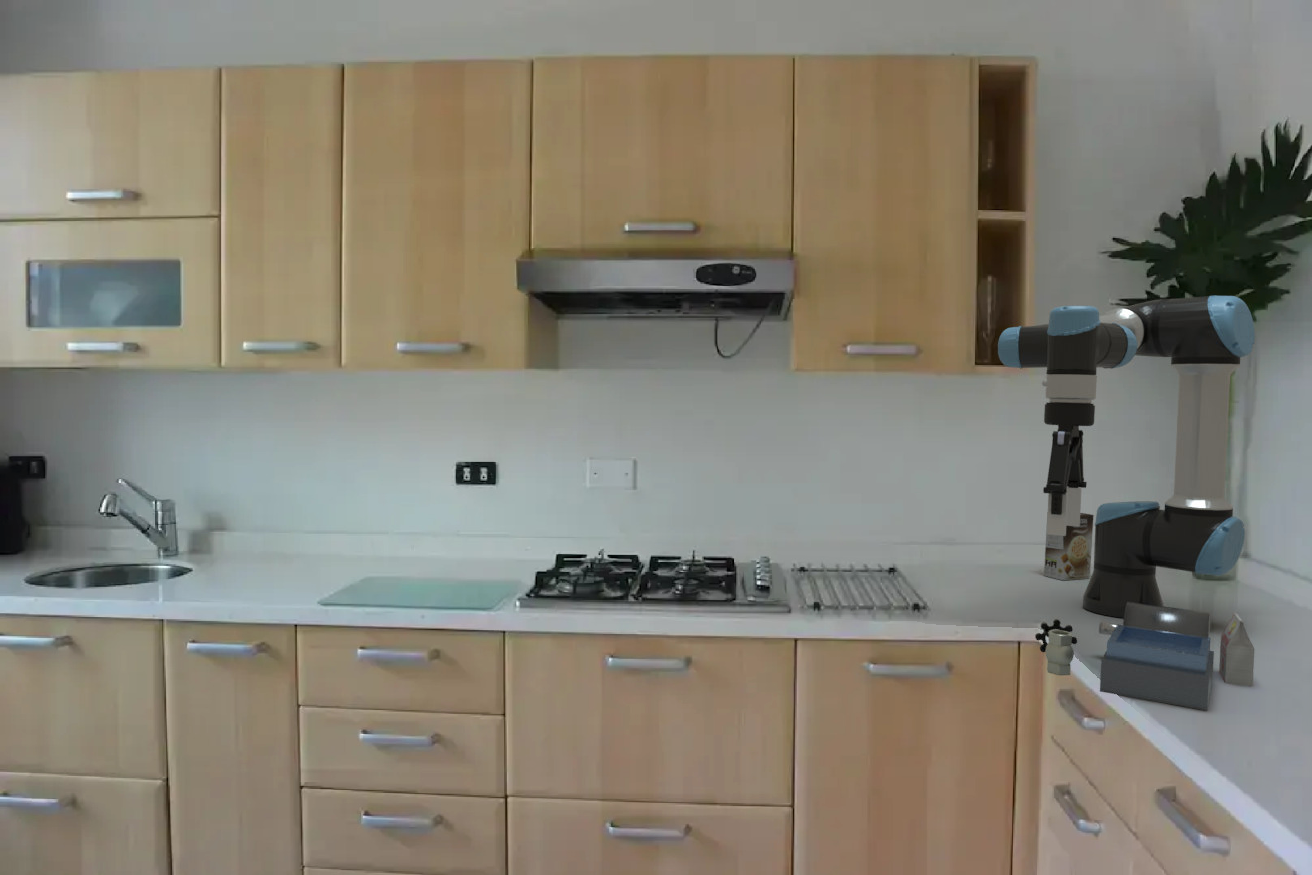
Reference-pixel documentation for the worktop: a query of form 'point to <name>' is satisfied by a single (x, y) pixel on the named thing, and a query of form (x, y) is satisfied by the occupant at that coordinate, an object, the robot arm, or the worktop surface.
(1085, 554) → the coffee box
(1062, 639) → the valve
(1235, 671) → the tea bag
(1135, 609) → the motor
